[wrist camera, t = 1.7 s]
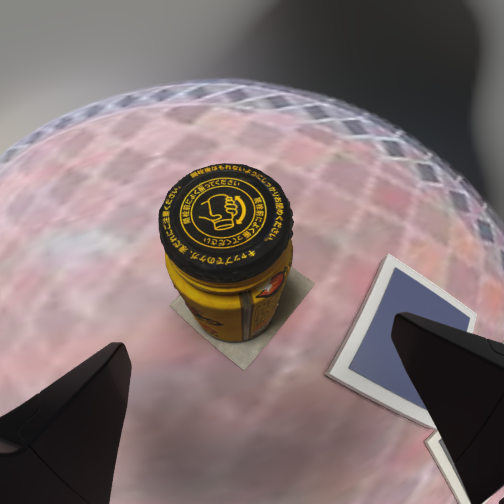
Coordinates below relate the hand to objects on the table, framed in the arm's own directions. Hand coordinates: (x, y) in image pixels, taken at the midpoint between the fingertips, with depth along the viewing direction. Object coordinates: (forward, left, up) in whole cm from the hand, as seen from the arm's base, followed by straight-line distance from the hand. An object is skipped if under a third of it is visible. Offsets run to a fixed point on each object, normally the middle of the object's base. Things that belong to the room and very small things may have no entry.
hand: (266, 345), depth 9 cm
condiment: (+5, 0, -12) cm, 13 cm away
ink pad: (0, -13, -12) cm, 17 cm away
